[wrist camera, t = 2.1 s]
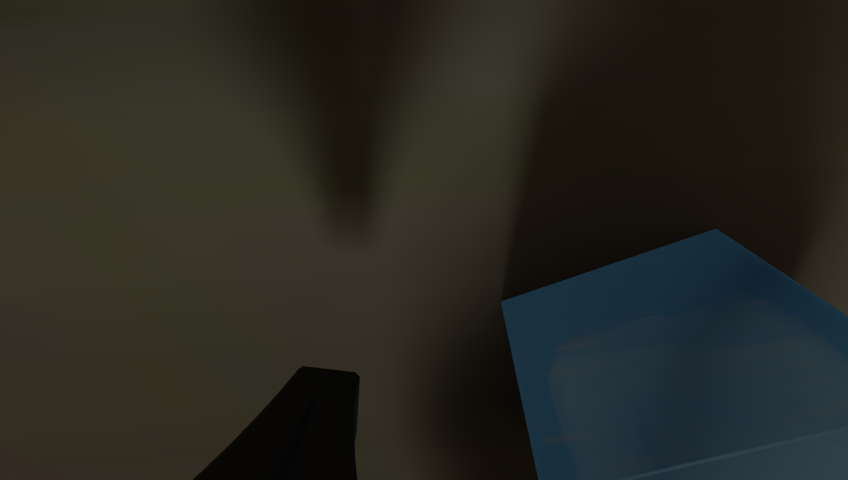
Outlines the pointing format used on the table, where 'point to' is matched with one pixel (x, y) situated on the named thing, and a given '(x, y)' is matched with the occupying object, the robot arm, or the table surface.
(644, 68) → the table surface
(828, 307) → the perfume bottle
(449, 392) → the table surface
